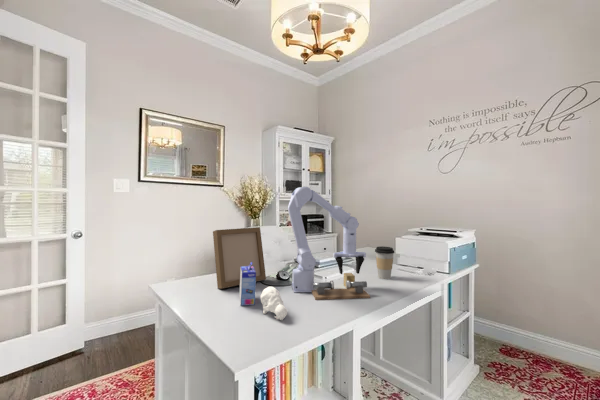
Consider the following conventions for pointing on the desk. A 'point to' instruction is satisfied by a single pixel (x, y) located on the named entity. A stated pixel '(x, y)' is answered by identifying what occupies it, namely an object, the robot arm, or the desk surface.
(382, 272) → the coffee cup
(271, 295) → the white sculpted piece
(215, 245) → the photo frame
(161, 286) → the desk surface
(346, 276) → the block
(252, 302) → the ink cartridge box
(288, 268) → the metal bracket
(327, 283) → the stand
